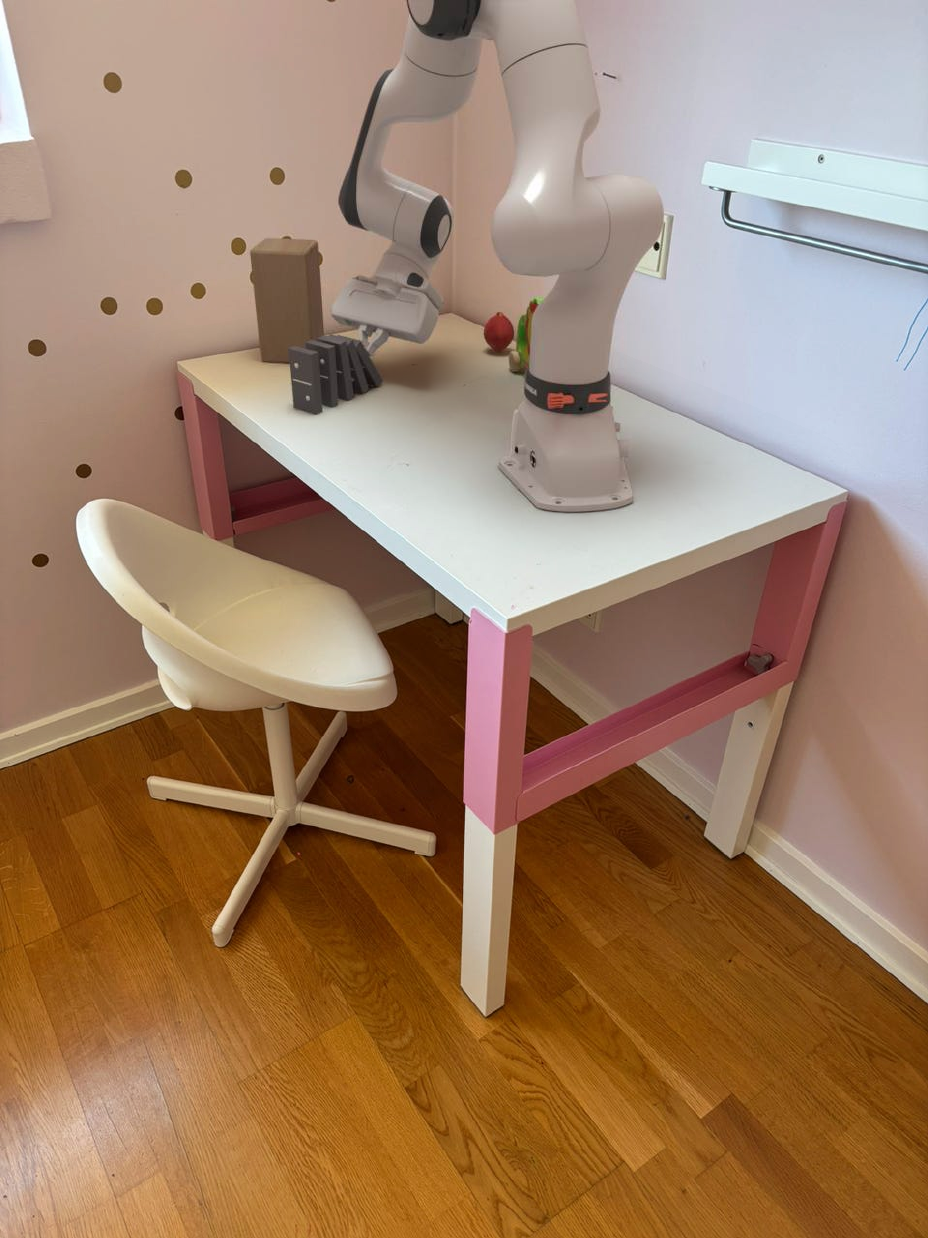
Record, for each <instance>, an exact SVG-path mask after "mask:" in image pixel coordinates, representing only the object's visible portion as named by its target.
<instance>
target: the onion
mask: <svg viewBox="0 0 928 1238" xmlns="http://www.w3.org/2000/svg"><path fill="white" fill-rule="evenodd" d="M483 337H484V340H485V342H486V344H487V345H488V346H489V347H490V348H492V350H494V352H496V353H501V352H502V351H504V350H505V349H507V348H508V347H509V346H510V344H511V343H512V342H513V341H514V339H515V338H514V337H515V329H514V326H513V323H512V322H511V320H510V318H508V317H507V316H506V315H504V312H503V311H502V310H498V311H497V312H496V314H495V315H493V316H491V317H490V318H489V319H488V321H487V322H486V324H485V325H484V328H483Z"/></svg>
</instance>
